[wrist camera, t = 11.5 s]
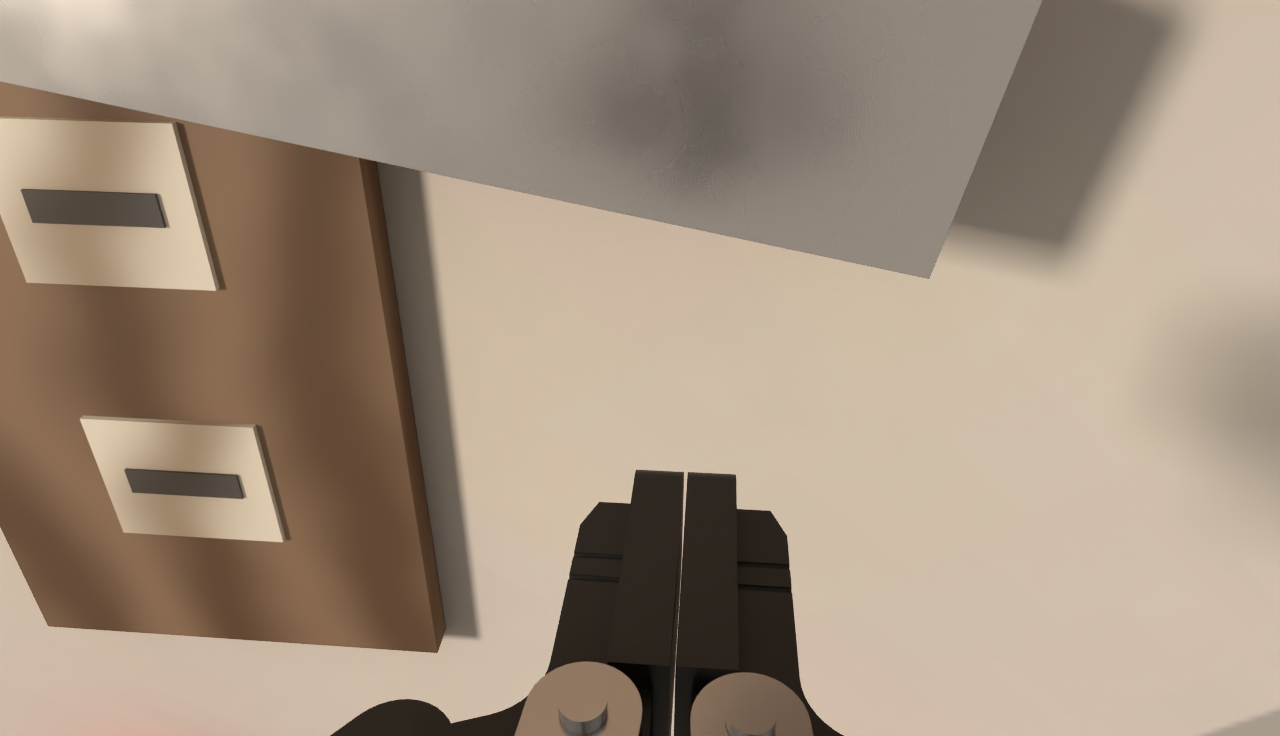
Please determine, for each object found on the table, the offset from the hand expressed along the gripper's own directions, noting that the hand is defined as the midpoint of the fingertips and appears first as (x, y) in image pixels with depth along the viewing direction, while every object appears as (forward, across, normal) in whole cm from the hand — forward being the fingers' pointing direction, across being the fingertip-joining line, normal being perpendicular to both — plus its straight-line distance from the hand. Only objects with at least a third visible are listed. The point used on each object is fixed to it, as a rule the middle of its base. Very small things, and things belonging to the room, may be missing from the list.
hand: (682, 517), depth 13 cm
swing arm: (+11, +7, -6) cm, 14 cm away
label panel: (+13, +18, +4) cm, 22 cm away
